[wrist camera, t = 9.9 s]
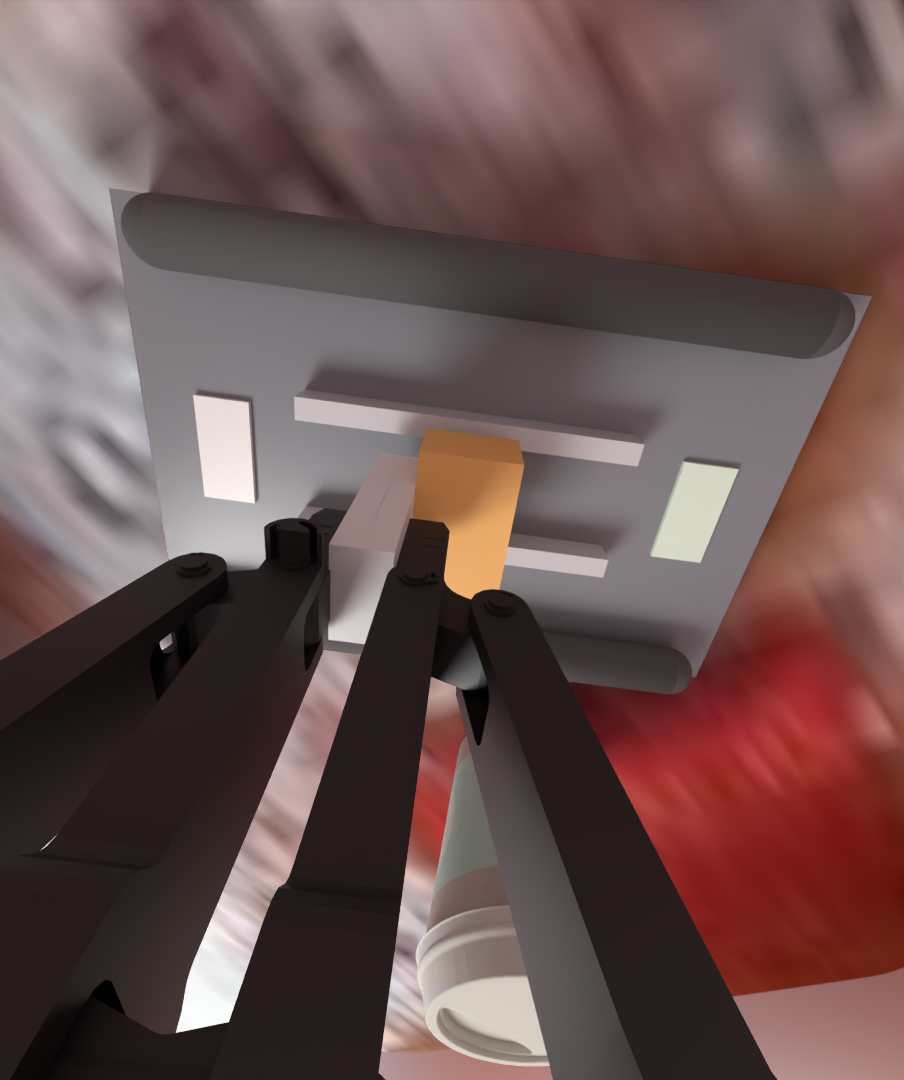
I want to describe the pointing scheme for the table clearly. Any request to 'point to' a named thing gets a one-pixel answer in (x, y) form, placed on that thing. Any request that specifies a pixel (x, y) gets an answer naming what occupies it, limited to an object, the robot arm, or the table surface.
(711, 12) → the table surface
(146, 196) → the pair of grey bars
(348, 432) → the slide switch panel
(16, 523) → the table surface
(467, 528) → the lever
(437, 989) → the coffee cup
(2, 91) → the table surface
